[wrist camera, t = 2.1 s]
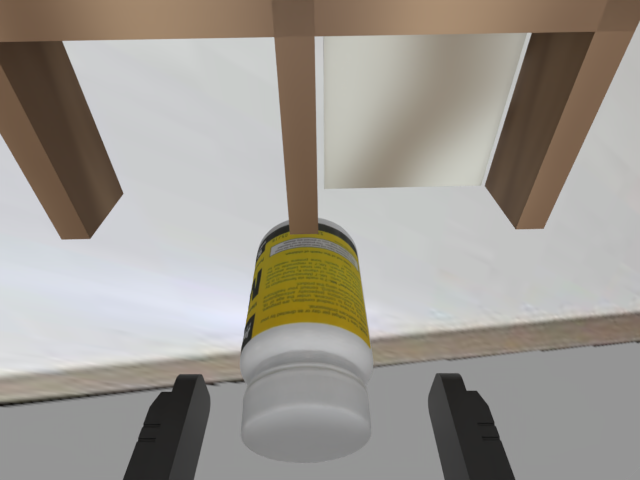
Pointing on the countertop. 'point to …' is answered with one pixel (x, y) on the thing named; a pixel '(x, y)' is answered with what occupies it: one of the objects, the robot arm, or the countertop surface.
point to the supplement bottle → (306, 348)
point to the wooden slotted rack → (338, 93)
